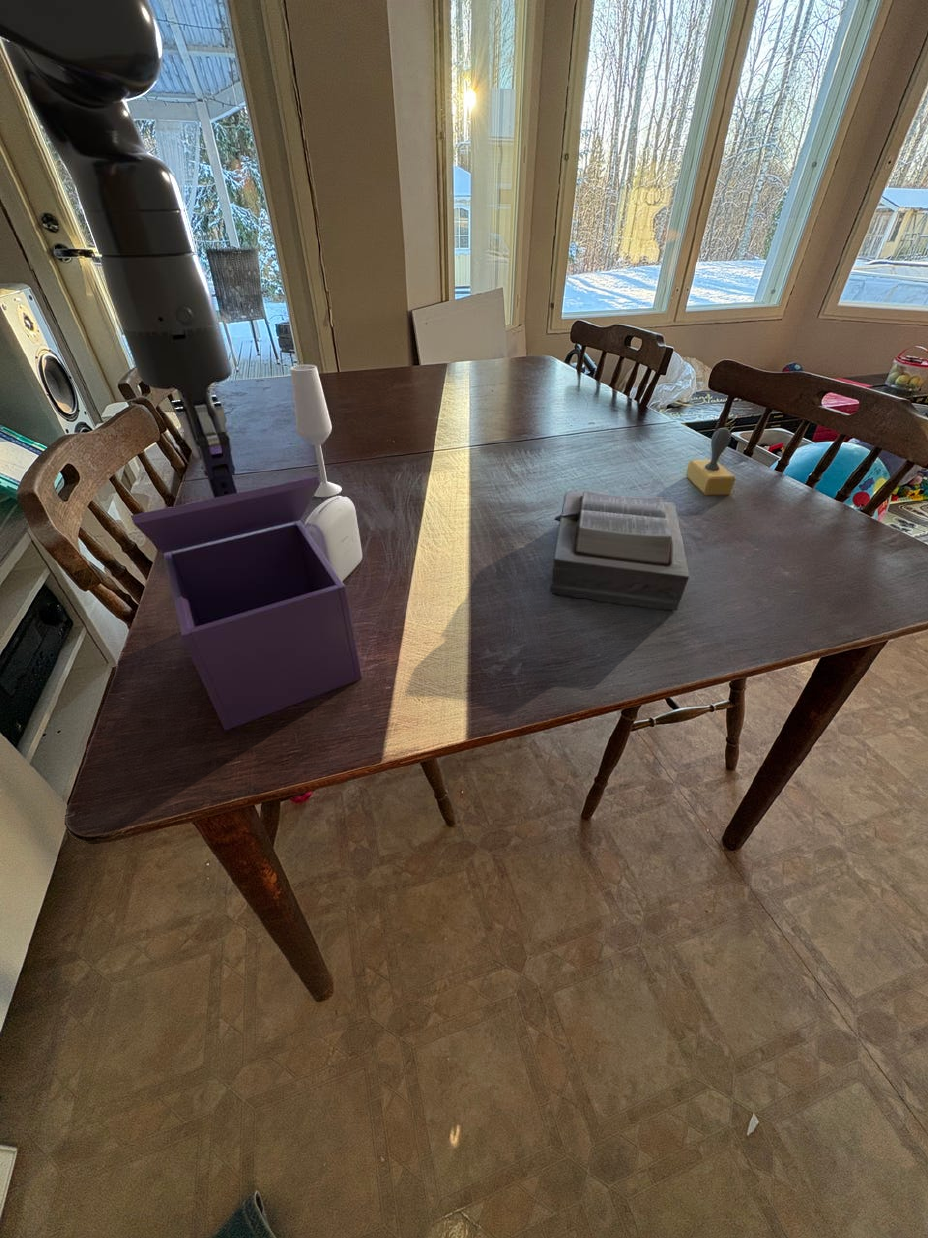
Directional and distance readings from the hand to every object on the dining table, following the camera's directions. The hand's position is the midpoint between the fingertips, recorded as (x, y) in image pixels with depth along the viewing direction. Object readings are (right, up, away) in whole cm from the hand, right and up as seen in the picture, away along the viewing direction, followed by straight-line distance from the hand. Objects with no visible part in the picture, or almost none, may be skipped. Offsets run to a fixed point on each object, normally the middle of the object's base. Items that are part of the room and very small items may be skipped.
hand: (229, 507), depth 54 cm
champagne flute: (-5, +15, +55) cm, 57 cm away
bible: (+50, -2, +32) cm, 59 cm away
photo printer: (+4, -4, +30) cm, 31 cm away
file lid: (0, -1, +2) cm, 2 cm away
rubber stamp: (+77, +17, +56) cm, 97 cm away
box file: (0, -17, +14) cm, 22 cm away
